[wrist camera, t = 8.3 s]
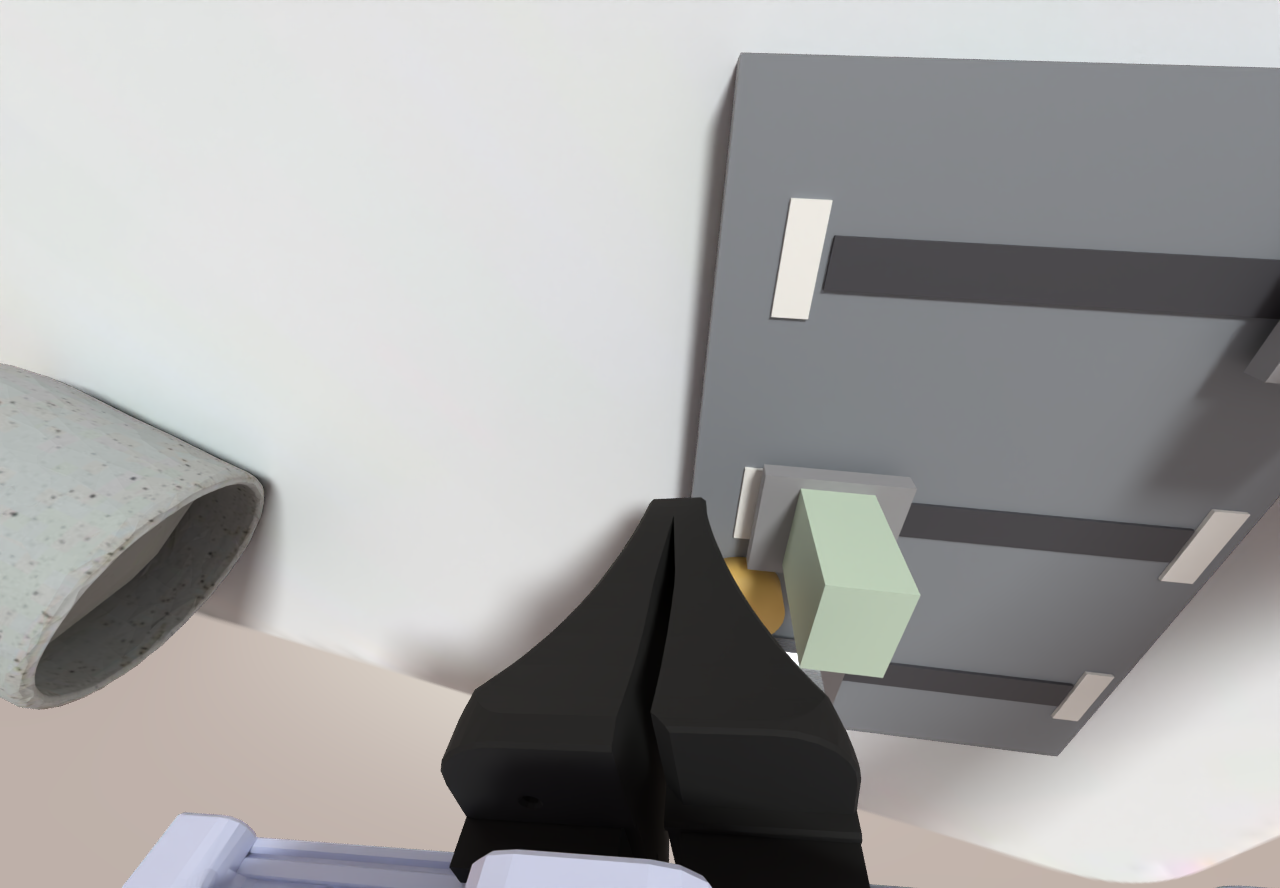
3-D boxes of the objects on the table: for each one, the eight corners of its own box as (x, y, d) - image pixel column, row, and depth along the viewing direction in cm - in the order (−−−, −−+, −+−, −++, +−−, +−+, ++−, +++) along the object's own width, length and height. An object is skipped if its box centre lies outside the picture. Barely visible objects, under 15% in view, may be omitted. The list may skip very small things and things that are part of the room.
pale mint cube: (910, 477, 13) (975, 589, 10) (875, 570, 15) (921, 691, 11) (764, 464, 13) (781, 569, 10) (746, 556, 15) (756, 671, 12)
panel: (1533, 83, 9) (1744, 72, 7) (1039, 723, 20) (1073, 786, 18) (737, 60, 10) (744, 44, 8) (671, 678, 21) (667, 733, 19)
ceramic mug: (17, 303, 15) (-468, 433, 9) (282, 433, 17) (22, 623, 10) (49, 521, 20) (-242, 699, 14) (248, 606, 22) (62, 801, 16)
